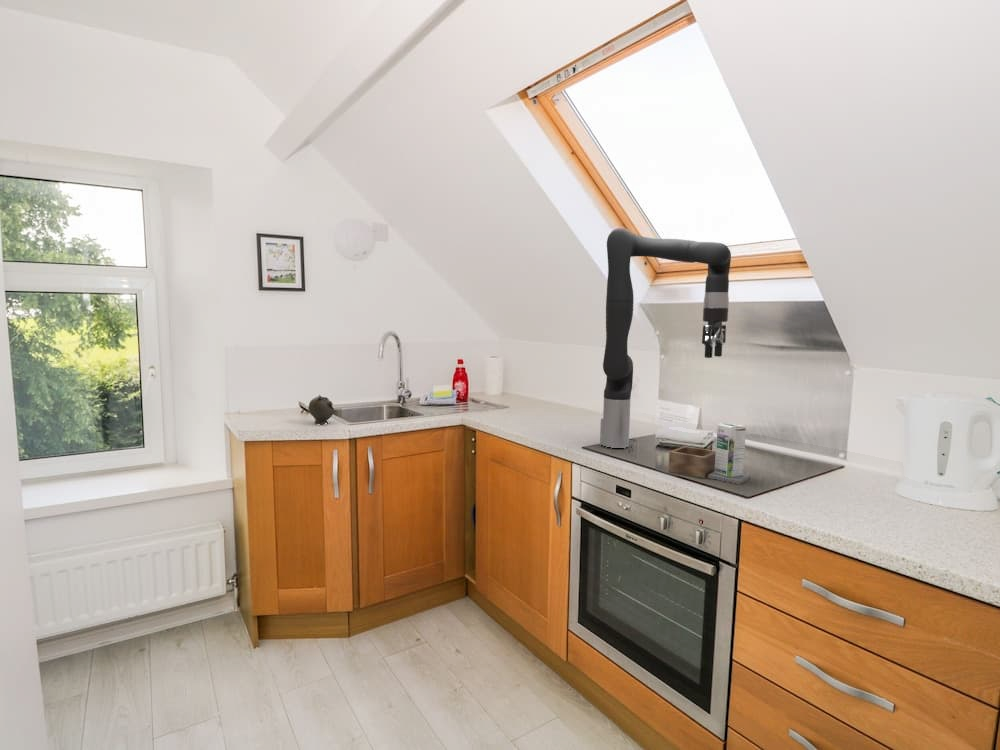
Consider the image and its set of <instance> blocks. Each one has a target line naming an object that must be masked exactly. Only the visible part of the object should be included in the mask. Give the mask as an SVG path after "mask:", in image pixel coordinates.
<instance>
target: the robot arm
mask: <svg viewBox="0 0 1000 750" xmlns="http://www.w3.org/2000/svg"><path fill="white" fill-rule="evenodd" d="M606 250H607V252H606V253H607V254H606V255H607V265H608V266H607V269H608V270H607V282H606V283H607V284H606V298H605V333H606V334H605V335H606V336H605V339H606V340H605V346H604V354H603V361H602V368H603V369H602V370H603V372H604V374H605V375H606V380H605V381H606V384H605V386H604V387H605V388H604V391H603V411H602V412H603V413H602V416H603V417H602V418H601V419H600V430H599V446H601V445H603V446H602V447H604V446H606V447H605V448H607V447H611V448H610V449H612V448H624V449H627V448H626V447H628V446H630V445H629V444H630V426H631V425H630V422H631V421H630V420H631V419H630V418H631V397H632V396H631V394H632V391H633V390H632V389H633V378H634V361H633V359H632V358H631V356H630V355H629V354H628V338H629V334H630V329H631V326H632V321H633V316H634V302H635V301H634V289H633V283H632V276H631V270H630V269H631V267H630V266H631V257H646V258H647V257H649V258H657V259H663V260H669V261H673V262H682V263H689V264H690V263H691V264H692V263H693V264H694V263H697V264H698V263H699V264H704V265H705V264H706V265H707V276H706V279H705V289H704V298H703V310H702V313H703V314H702V321H703V322H705V323H707V324H703V326H702V337H701V338H702V339H701V344H702V345H704V358H706V359H711V358H713V352H714V357H717V358H718V357H719V358H720V357H722V356H723V355H722V354H723V346H724V344H725V343H726V340H727V335H726V333H727V325H726V324H723V323H727V322H728V320H729V319H728V318H729V303H730V302H729V299H730V297H729V287H730V286H729V285H730V279H729V278H730V277H729V275H730V268H731V261H732V260H731V259H732V253H731V249H730V248H729V247H728V246H727V244H725V243H721V242H714V241H696V240H690V239H679V238H652V237H646V236H644V235H643V236H642V235H640V234H636V233H633V232H632V231H631V230H629V229H626V228H624V227H617V228H615V229H613V230H612V231H611V232H610V233H609V234H608V236H607V240H606ZM713 347H714V348H713ZM713 349H714V350H713ZM628 448H629V447H628Z"/></svg>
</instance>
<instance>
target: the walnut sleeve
mask: <svg viewBox="0 0 1000 750" xmlns="http://www.w3.org/2000/svg"><path fill="white" fill-rule="evenodd" d="M668 452H669V457H668V472H669V471H671V472H670V473H674V472H676V473H675V474H679V473H681V474H680V475H684V474H685V476H689V475H691V477H694V476H696V477H695V478H699V477H702V478H701V479H706V478H708V474H710V473H712V472H714V470H715V456H716V450H712V449H706V448H701V447H694V446H687V445H683V446H681V447H677V448H675V449H673V450H670V451H668ZM705 477H706V478H705Z"/></svg>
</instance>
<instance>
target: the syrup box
mask: <svg viewBox="0 0 1000 750" xmlns="http://www.w3.org/2000/svg"><path fill="white" fill-rule="evenodd" d="M716 426H717V427H716V440H715V442H716V443H715V451H716V456H715V470H714V473H717V474H720V475H723V476H727V477H729V478H730V477H736V476H741V475H743V473H744V464H745V451H746V450H745V449H746V448H745V445H746V435H747V433H746V431H747V426H745V425H739V424H734V423H730V422H722V423H718V424H717V425H716Z"/></svg>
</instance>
